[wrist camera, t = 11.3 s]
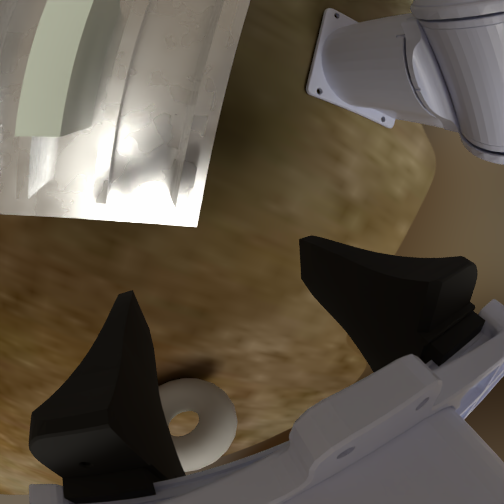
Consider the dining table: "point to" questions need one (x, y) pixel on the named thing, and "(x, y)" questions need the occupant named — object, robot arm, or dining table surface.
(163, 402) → the donut
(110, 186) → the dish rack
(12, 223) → the dining table surface
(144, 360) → the robot arm
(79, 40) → the grey rectangular block
